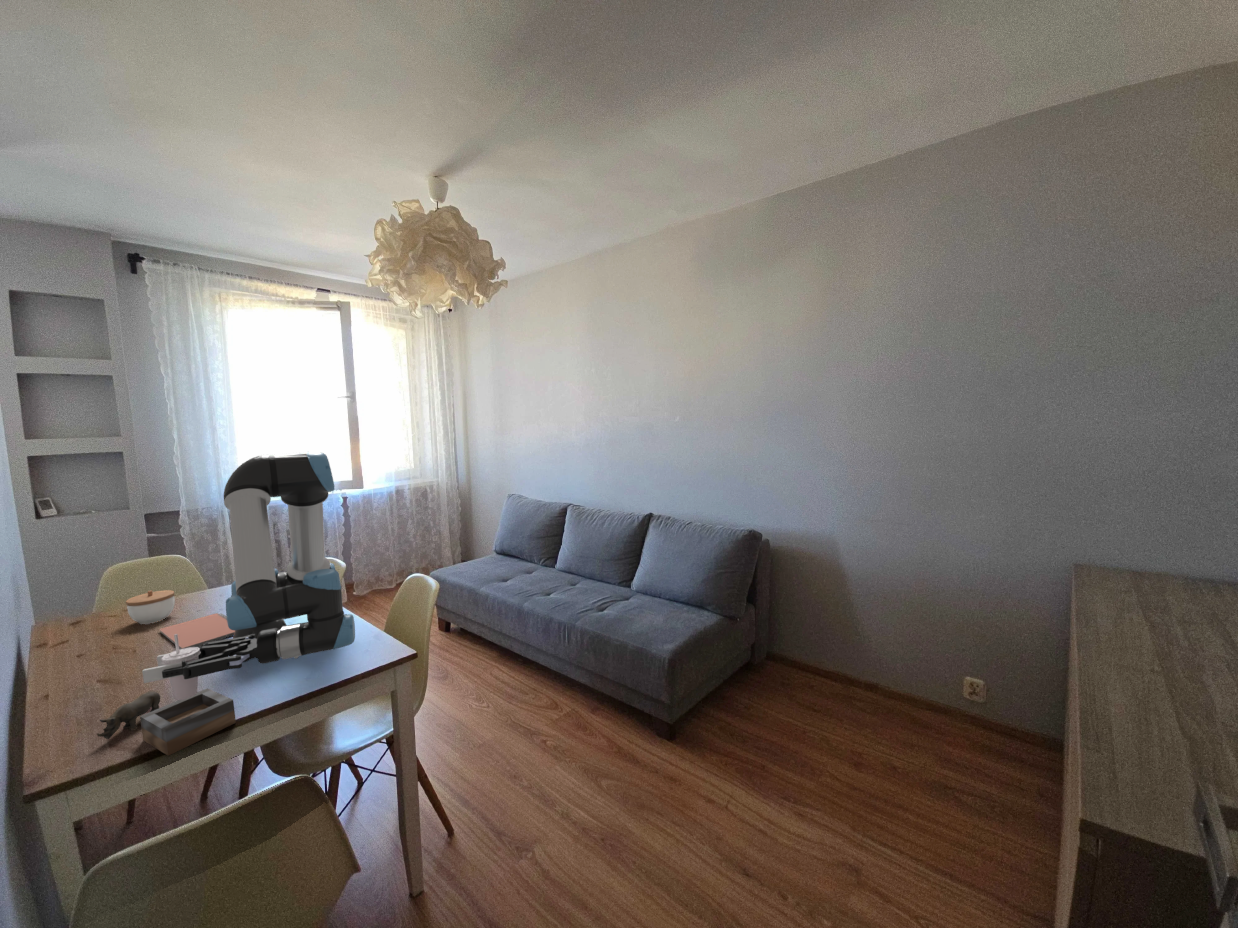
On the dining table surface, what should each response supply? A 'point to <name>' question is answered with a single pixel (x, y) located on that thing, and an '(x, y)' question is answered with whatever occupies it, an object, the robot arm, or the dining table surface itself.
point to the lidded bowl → (151, 606)
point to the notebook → (199, 631)
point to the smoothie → (179, 684)
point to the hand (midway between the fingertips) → (151, 668)
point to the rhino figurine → (130, 713)
